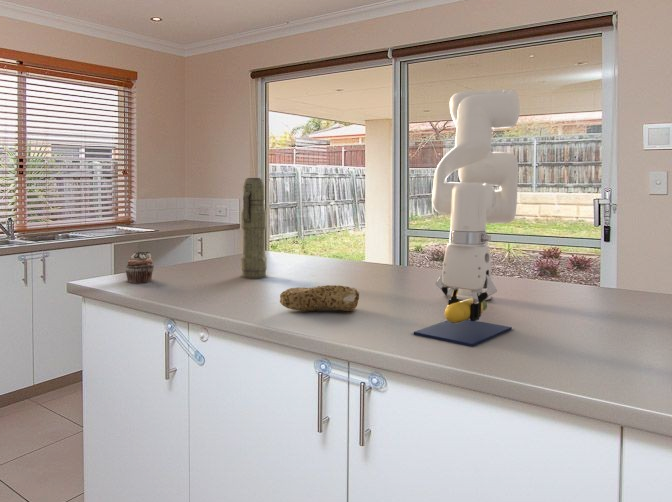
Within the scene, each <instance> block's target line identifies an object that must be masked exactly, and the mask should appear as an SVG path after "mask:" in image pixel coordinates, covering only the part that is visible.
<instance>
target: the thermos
mask: <svg viewBox="0 0 672 502" xmlns="http://www.w3.org/2000/svg"><path fill="white" fill-rule="evenodd" d="M264 183H265V182H264V180H263V179H262V178H261V177H247V178H244V181H243V185H242V202H243V204H242V210H241V215H240V216H241V218H240V219H241V224H240V225H241V229H242V256H241V261H240V262H241V277H242V278H243V279H264V278H267V266H268V264H267V263H268V262H267V255H266V229H267V211H266V207H265V205H266V204H265V198H266V197H265V193H266V192H265V191H266V189H265V188H266V187H265V184H264Z"/></svg>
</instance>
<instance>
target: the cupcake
mask: <svg viewBox="0 0 672 502" xmlns="http://www.w3.org/2000/svg"><path fill="white" fill-rule="evenodd" d="M151 257H152V255H151V253H150V252H149V251H138V252H136V251H134V252H133V254H132V255H131V256H130V258H129V259H128V260H127V265H126V266H125V267H124V270H125V275H126V279H127V282H128V283H131V284H144V283H149V282H152V278H153V272H154V268H155V265H154V260H153V259H152V258H151Z"/></svg>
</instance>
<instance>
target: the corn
mask: <svg viewBox="0 0 672 502" xmlns="http://www.w3.org/2000/svg"><path fill="white" fill-rule="evenodd" d="M472 303H473V298H470V299H467V300H459V302H456V303H453V304H450V305H448V304H447V306H446V307H445V308H444V317H445V319H446V321H447V320H448V321H449V322H451V323H459V322H462V321H465V320H470V310H471V304H472ZM487 308H488V303H487V300H484V301H483V302H482V303H481V314H482V313H483V312H484V311H486V309H487Z"/></svg>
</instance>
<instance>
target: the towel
mask: <svg viewBox="0 0 672 502" xmlns="http://www.w3.org/2000/svg"><path fill="white" fill-rule="evenodd" d="M512 329H513V327H512V326H508V325H504V324H503V325H501V324H496V323H491V322H484V321H479V320H476V321H471V320H470V319H468V320H465V321H462V322H459V323H451V322H449V321H448V320H447V319H446V320H445V321H442V322H439V323H436V324H433V325H430V326H427V327H424V328H421V329H418V330H415V331H413V335H414V336H420V337H423V338H430V339H434V340H438V341H443V342H448V343H453V344H457V345H458V344H459V345H463V346H468V347H474V346H477V345H480V344H482V343H484V342H486V341H488V340H491V339H493V338H495V337H497V336H500V335H503V334H505V333H507V332H509V331H512Z"/></svg>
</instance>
